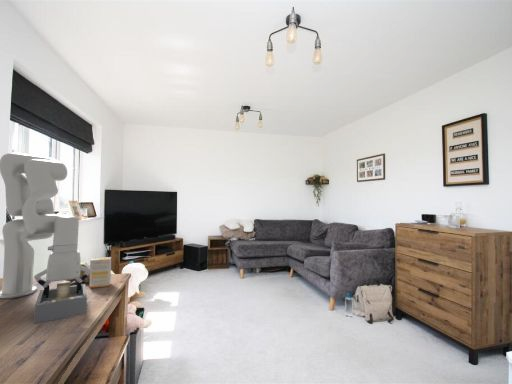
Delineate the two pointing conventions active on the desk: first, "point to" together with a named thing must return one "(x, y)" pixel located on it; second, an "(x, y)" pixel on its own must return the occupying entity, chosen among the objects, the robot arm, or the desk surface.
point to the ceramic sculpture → (82, 274)
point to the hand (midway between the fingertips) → (62, 294)
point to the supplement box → (100, 272)
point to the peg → (63, 290)
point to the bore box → (60, 305)
